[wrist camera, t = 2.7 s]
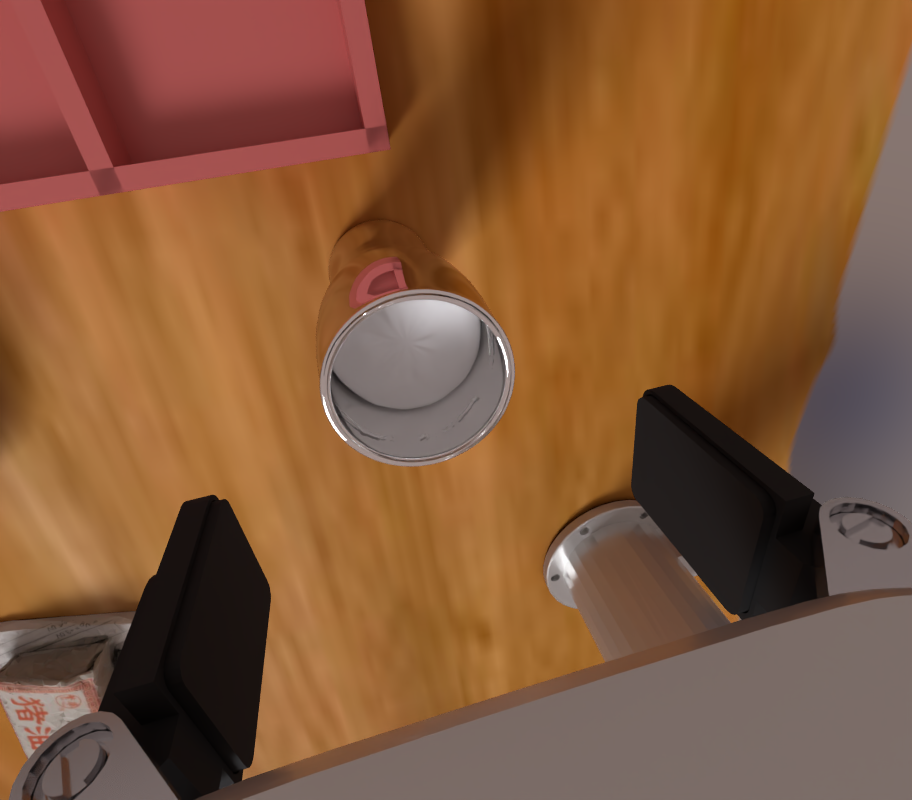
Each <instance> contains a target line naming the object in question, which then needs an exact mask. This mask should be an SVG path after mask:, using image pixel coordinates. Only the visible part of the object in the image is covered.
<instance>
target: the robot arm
mask: <svg viewBox="0 0 912 800" xmlns="http://www.w3.org/2000/svg"><path fill="white" fill-rule="evenodd" d="M631 488H632V492H633V495H634V497H635V499H636V500H624V501H616V502H612V503H608V504H604V505H601V506H599V507H597V508H594V509H592V510H590V511H588V512H586V513H585V514H583V515H581V516H579V517H578V518H577V519H575V520H574V521H573V522H571V523H570V524H569V525H568V526H567V527H566V528H565V529H564V530H563V531H562V532H561V533H560V534H559V535H558V536H557V537H556V539H555V540H554V542H553V543H552V544H551V546H550V548H549V550H548V552H547V554H546V557H545V561H544V565H543V575H544V579H545V582H546V585H547V586H548V588H549V590H550V593H551V594H552V595H553V596H554V598H555V599H556V600H557V601H559V602H560V603H562V604H563V605H566V606H569V607H571V608H576V609H578V610H579V612H580V614H581V616H582V617H583V619H584V621H585V623H586V625H587V627H588V629H589V631H590V633H591V635H592V637H593V639H594V641H595V643H596V645H597V647H598V649H599V650H600V652H601V654H602V656H603V658H604V660H605V663H602V664H598V665H595V666H592V667H589V668H586V669H583V670H579V671H576V672H573V673H570V674H567V675H564V676H560V677H557V678H554V679H551V680H548V681H545V682H541V683H538V684H535V685H532V686H529V687H526V688H523V689H519V690H516V691H513V692H510V693H507V694H504V695H500V696H497V697H494V698H491V699H488V700H485V701H482V702H478V703H475V704H472V705H469V706H466V707H463V708H460V709H457V710H454V711H450V712H447V713H444V714H441V715H438V716H435V717H432V718H429V719H426V720H422V721H419V722H416V723H413V724H410V725H407V726H404V727H401V728H398V729H395V730H391V731H388V732H385V733H382V734H379V735H376V736H373V737H370V738H367V739H364V740H360V741H357V742H354V743H351V744H348V745H345V746H342V747H339V748H336V749H333V750H330V751H327V752H324V753H321V754H318V755H315V756H312V757H309V758H306V759H303V760H301V761H298V762H295V763H292V764H289V765H286V766H283V767H280V768H277V769H274V770H271V771H268V772H265V773H262V774H260V775H257V776H254V777H251V778H248V779H245V780H243V781H242V775H243V769H246V768H249V767H250V766H251V764H252V761H253V756H254V747H255V738H256V729H257V720H258V711H259V702H260V693H261V684H262V675H263V666H264V657H265V647H266V638H267V629H268V620H269V611H270V602H271V593H270V587H269V584H268V581H267V579H266V577H265V575H264V573H263V571H262V569H261V567H260V565H259V563H258V561H257V559H256V557H255V555H254V553H253V551H252V549H251V547H250V545H249V542H248V540H247V538H246V536H245V534H244V532H243V530H242V528H241V526H240V524H239V522H238V520H237V518H236V516H235V514H234V512H233V510H232V508H231V506H230V504H229V502H228V501H227V500H226V499H223V500H219V499H218V498H217V497H216V496H215V495H210V496H206V497H202V498H197V499H193V500H189V501H186V502H184V503H183V504H182V506H181V509H180V511H179V514H178V517H177V520H176V522H175V525H174V528H173V530H172V533H171V536H170V539H169V541H168V544H167V547H166V549H165V552H164V555H163V558H162V560H161V563H160V566H159V569H158V571H157V574H156V575H154V576H153V577H151V578H150V579H149V581H148V583H147V584H146V586H145V589H144V592H143V594H142V597H141V599H140V602H139V605H138V607H137V610H136V613H135V615H134V618H133V620H132V623H131V626H130V628H129V631H128V634H127V636H126V639H125V641H124V644H123V647H122V649H121V652H120V655H119V657H118V660H117V662H116V665H115V668H114V670H113V673H112V676H111V678H110V681H109V683H108V686H107V689H106V691H105V694H104V697H103V699H102V702H101V704H100V707H99V710H98V712H94V713H90V714H85V715H83V716H81V717H79V718H77V719H75V720H73V721H70V722H69V723H67V724H66V725H64V726H63V727H61V728H60V729H59V730H57V731H56V732H54V733H53V734H52V735H51V736H50V737H48V738H47V739H46V740H45V741H44V742H43V743H42V744H41V745H40V746H39V747H38V748H37V749H36V750H35V751H34V753H33V754H32V755H31V756H30V758H29V759H28V760H27V762H26V763H25V764H24V765H23V767H22V768H21V770H20V772H19V774H18V776H17V778H16V780H15V782H14V783H13V786H12V789H11V793H10V797H9V800H912V523H911V522H910V521H909V520H908V519H907V518H906V517H904V516H903V515H901V514H900V513H898V512H896V511H895V510H893V509H891V508H889V507H887V506H884V505H882V504H880V503H877V502H873V501H870V500H866V499H861V498H851V497H842V498H834V499H832V500H829V501H826V502H825V503H824V504H823V505H821V504H819V503H818V502H817V501H816V500H814V499H813V496H814V493H813V492H812V491H811V490H810V489H808V488H807V487H806V486H804V485H803V484H802V483H801V482H799V481H798V480H797V479H795V478H794V477H793V476H791V475H790V474H789V473H787V472H786V471H785V470H783V469H782V468H781V467H780V466H778V465H777V464H776V463H774V462H773V461H772V460H770V459H769V458H768V457H766V456H765V455H764V454H763V453H761V452H760V451H759V450H757V449H756V448H755V447H753V446H752V445H751V444H749V443H748V442H747V441H745V440H744V439H743V438H742V437H740V436H739V435H738V434H736V433H735V432H734V431H732V430H731V429H730V428H728V427H727V426H726V425H724V424H723V423H722V422H721V421H719V420H718V419H717V418H715V417H714V416H713V415H711V414H710V413H709V412H707V411H706V410H705V409H704V408H702V407H701V406H700V405H698V404H697V403H696V402H694V401H693V400H692V399H690V398H689V397H688V396H686V395H685V394H684V393H683V392H681V391H680V390H679V389H677V388H676V387H675V386H673V385H665V386H661V387H657V388H653V389H649V390H646V391H645V392H644V394H643V397H642V398H640V399H639V400H638V403H637V414H636V427H635V441H634V455H633V468H632V482H631ZM697 575H698V576H699V577H700V578H701V580H702V581H703V582H704V583H705V584H706V586H707V587H708V588H709V589H710V591H711V592H712V593H713V594H714V595H715V597H716V598H717V599H718V600H719V602H720V603H721V604H722V605H723V606H724V608H725V609H726V610H727V611H728V612H730V613H731V614H734V615H735V614H737V615H738V616H739V617H740V618H741V619H742V620H740V621H737V622H733V623H730V621H729V620H728V619H727V618H726V616H725V615H724V614H723V613H722V612H721V610H720V609H719V608H718V607H717V605H716V604H715V603H714V602H713V600H712V599H711V598H710V597H709V595H708V594H707V593H706V592H705V590H704V589H703V588H702V587H701V586H700V584H699V583H698V582H697V581H696V579H695V578H694V577H693V576H697Z"/></svg>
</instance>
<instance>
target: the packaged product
mask: <svg viewBox="0 0 912 800" xmlns="http://www.w3.org/2000/svg"><path fill="white" fill-rule="evenodd" d="M135 613H136V611H130V612H118V613H105V614H92V615H79V616H64V617H53V618H42V619H31V620H14V621H7V622H0V702H1V704H2V706H3V708H4V710H5V712H6V715H7V717H8V719H9V721H10V723H11V725H12V727H13V729H14V731H15V733H16V736H17V738H18V739H19V742H20V744H21V746H22V748H23V750H24V753H25V755H26V756H27V759H29V758H30V756H31V755H32V754H33V753H34V751H35V750H36V749H37V748H38V747H39V746H40V745H41V744H42V743H43V742H44V741H45V740H46V739H47V738H48V737H50V736H51V735H52V734H53V733H54V732H56V731H57V730H59V729H60V728H61V727H63V726H64V725H66V724H67V723H69V722H70V721H73V720H75V719H77V718H79V717H81V716H83V715H85V714H90V713H94V712H98V710H99V707H100V704H101V702H102V699H103V697H104V694H105V691H106V689H107V686H108V683H109V681H110V678H111V676H112V673H113V670H114V668H115V665H116V662H117V660H118V657H119V655H120V652H121V649H122V647H123V644H124V641H125V639H126V636H127V634H128V631H129V628H130V626H131V623H132V620H133V618H134V615H135Z"/></svg>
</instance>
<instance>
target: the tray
mask: <svg viewBox="0 0 912 800" xmlns="http://www.w3.org/2000/svg"><path fill="white" fill-rule="evenodd" d="M389 149H391V148H390V143H389V137H388V131H387V126H386V120H385V114H384V109H383V103H382V97H381V92H380V86H379V80H378V75H377V69H376V63H375V58H374V52H373V46H372V41H371V35H370V30H369V24H368V18H367V13H366V7H365V1H364V0H0V212H1V211H7V210H14V209H20V208H26V207H32V206H39V205H45V204H51V203H57V202H64V201H70V200H76V199H83V198H89V197H95V196H101V195H108V194H114V193H120V192H126V191H133V190H139V189H145V188H151V187H158V186H164V185H170V184H176V183H183V182H189V181H195V180H202V179H208V178H214V177H220V176H227V175H233V174H239V173H245V172H252V171H258V170H264V169H270V168H277V167H283V166H289V165H295V164H302V163H308V162H314V161H321V160H327V159H333V158H339V157H346V156H352V155H358V154H364V153H371V152H377V151H383V150H389Z"/></svg>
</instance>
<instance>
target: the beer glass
mask: <svg viewBox="0 0 912 800" xmlns="http://www.w3.org/2000/svg"><path fill="white" fill-rule="evenodd" d="M329 280H330V285H329V287H328V288H327V290H326V292H325V295H324V297H323V299H322V302H321V305H320V309H319V314H318V320H317V327H316V359H317V367H318V374H319V380H320V396H321V401H322V405H323V409H324V411H325V414H326V416H327V418H328V420H329V422H330V424H331V426H332V427H333V429H334V430H335V431H336V433H337V434H338V435H339V436H340V437H341V439H342V440H343V441H344V442H346V443H347V444H348V445H349V446H350V447H352V448H353V449H354V450H356V451H357V452H359V453H361V454H362V455H364V456H366V457H368V458H370V459H373V460H376V461H378V462H382V463H385V464H390V465H396V466H407V467H413V466H425V465H431V464H436V463H440V462H443V461H446V460H449V459H451V458H454V457H456V456H458V455H460V454H462V453H464V452H466V451H467V450H469V449H471V448H472V447H474V446H475V445H476V444H478V443H479V442H480V441H481V440H482V439H484V438H485V437H486V436H487V435H488V434H489V433H490V432H491V430H492V429H493V428H494V427H495V426H496V424H497V423H498V422H499V420H500V419H501V417H502V415H503V414H504V412H505V410H506V408H507V406H508V403H509V401H510V398H511V395H512V391H513V387H514V380H515V363H514V357H513V352H512V348H511V345H510V343H509V340H508V338H507V336H506V334H505V332H504V330H503V329H502V327H501V326H500V324H499V323H498V322H497V321H496V319H495V318H494V316H493V314H492V312H491V311H490V309H489V307H488V306H487V304H486V302H485V301H484V299H483V298H482V296H481V295H480V294H479V292H478V291H477V290H476V288H475V287H474V286H473V285H472V283H471V282H470V281H469V280H468V279H467V278H466V277H465V276H464V275H463V274H462V273H461V272H460V271H459V270H458V269H457V268H455V267H454V266H453V265H452V264H451V263H449V262H448V261H447V260H445V259H444V258H442V257H440V256H438V255H436V254H434V253H432V252H430V251H428V249H427V247H426V246H425V244H424V243H423V241H422V240H421V239H420V238H419V236H418V235H417V234H415V233H414V232H413V231H412V230H410V229H409V228H407V227H406V226H404V225H402V224H399V223H397V222H393V221H389V220H371V221H367V222H363V223H361V224H358V225H356V226H354V227H353V228H351V229H350V230H348V231H347V232H346V233H345V234H344V235H343V236H342V237H341V238H340V239H339V240H338V242H337V243H336V245H335V247H334V249H333V251H332V254H331V257H330V261H329Z"/></svg>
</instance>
